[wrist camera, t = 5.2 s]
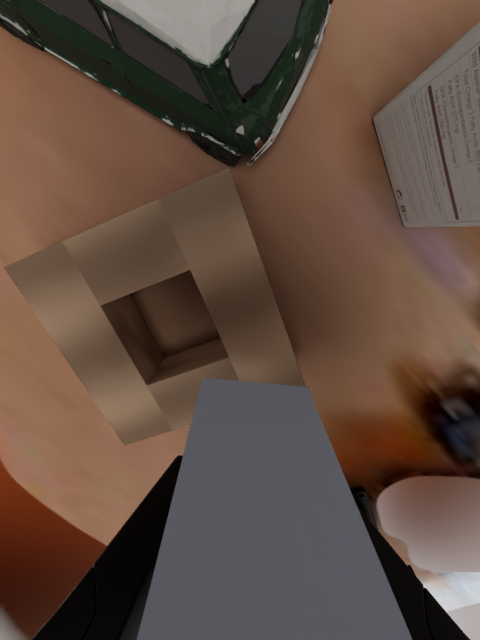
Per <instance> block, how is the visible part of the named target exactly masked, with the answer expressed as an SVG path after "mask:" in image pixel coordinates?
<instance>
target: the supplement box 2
mask: <svg viewBox="0 0 480 640" xmlns="http://www.w3.org/2000/svg"><path fill="white" fill-rule="evenodd" d="M373 120H374V124H375V128H376V132H377V136H378V140H379V143H380V146H381V149H382V154H383V157H384V160H385V164H386V167H387V171H388V174H389V178H390V181H391V185H392V188H393V192H394V195H395V199H396V202H397V206H398V209H399V212H400V216H401V219H402V222H403V225H404V227H406V228H410V227H454V226H480V22H479V23H478V24H477V25H475V26H474V27H473V28H472V29H471V30H470V31H469V32H468V33H466V34H465V35H464V36H463V37H462V38H461V39H460V40H459V41H457V42H456V43H455V44H454V45H453V46H452V47H451V48H450V49H448V50H447V51H446V52H445V53H444V54H443V55H442V56H441V57H439V58H438V59H437V60H436V61H435V62H434V63H433V64H432V65H431V66H429V67H428V68H427V69H426V70H425V71H424V72H423V73H422V74H420V75H419V76H418V77H417V78H416V79H415V80H414V81H413V82H411V83H410V84H409V85H408V86H407V87H406V88H405V89H404V90H403V91H402V92H400V93H399V94H398V95H397V96H396V97H395V98H394V99H393V100H391V101H390V102H389V103H388V104H387V105H386V106H385V107H384V108H383V109H382V110H380V111H379V112H378V113H377V114H376V115H375V116H374V117H373Z"/></svg>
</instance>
